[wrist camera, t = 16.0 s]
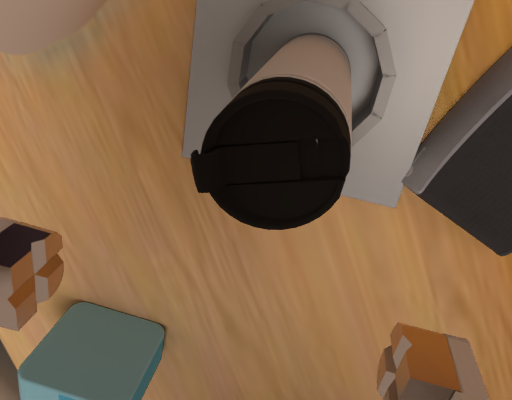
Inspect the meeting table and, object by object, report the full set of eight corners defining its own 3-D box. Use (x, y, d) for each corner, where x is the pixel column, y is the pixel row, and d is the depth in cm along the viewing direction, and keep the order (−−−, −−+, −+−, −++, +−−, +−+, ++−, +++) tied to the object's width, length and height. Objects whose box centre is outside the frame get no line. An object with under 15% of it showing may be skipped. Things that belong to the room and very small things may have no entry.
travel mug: (264, 37, 34) (174, 100, 17) (349, 28, 33) (350, 86, 15) (272, 115, 37) (203, 239, 19) (352, 109, 35) (354, 238, 18)
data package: (77, 324, 55) (13, 405, 45) (76, 297, 53) (9, 376, 43) (165, 351, 54) (121, 440, 44) (169, 325, 52) (123, 412, 42)
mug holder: (394, 203, 39) (398, 225, 36) (185, 152, 41) (170, 169, 38) (487, -46, 30) (506, -49, 26) (210, -97, 31) (192, -107, 28)
